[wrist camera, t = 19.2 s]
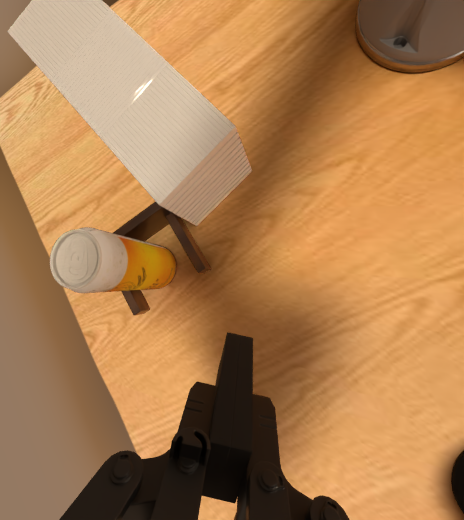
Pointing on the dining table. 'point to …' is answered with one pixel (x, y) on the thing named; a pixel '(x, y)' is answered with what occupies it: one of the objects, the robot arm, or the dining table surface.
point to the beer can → (109, 262)
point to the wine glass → (459, 481)
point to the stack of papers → (136, 104)
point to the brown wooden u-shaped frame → (148, 226)
